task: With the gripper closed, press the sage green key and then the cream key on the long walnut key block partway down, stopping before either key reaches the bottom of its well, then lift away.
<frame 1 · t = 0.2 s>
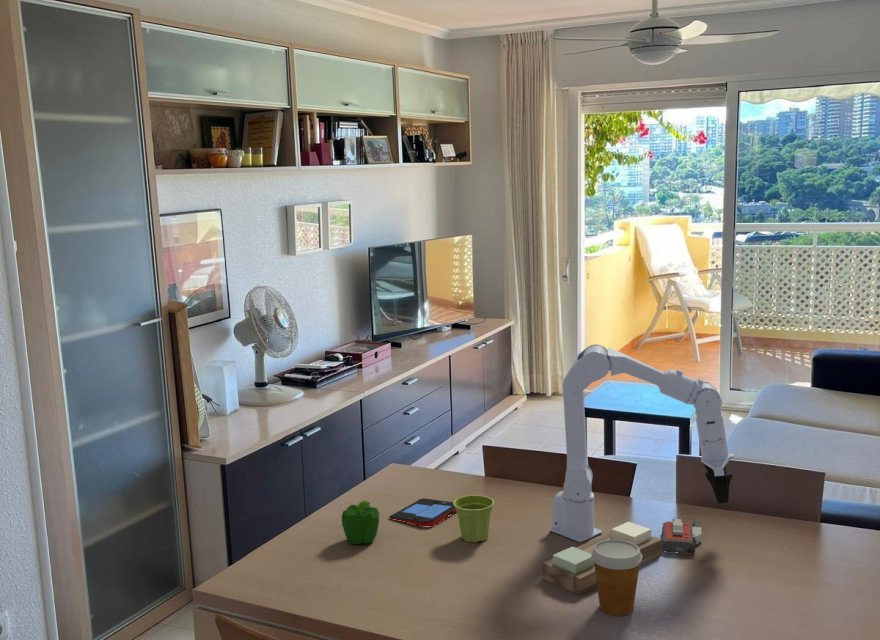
hand: (721, 496, 192), 10 cm above the table, tool pointing down, fingers open, 7 cm apart
bell pepper: (361, 541, 199), on the table
game console: (425, 517, 214), on the table
cream key: (631, 535, 188), point 4 cm above the table, slide at 0.0 cm
plant pot: (474, 538, 199), on the table
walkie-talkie: (681, 539, 196), on the table
sage key: (573, 562, 176), point 4 cm above the table, slide at 0.0 cm
key base: (603, 566, 182), on the table
disposable coffee cup: (616, 608, 164), on the table
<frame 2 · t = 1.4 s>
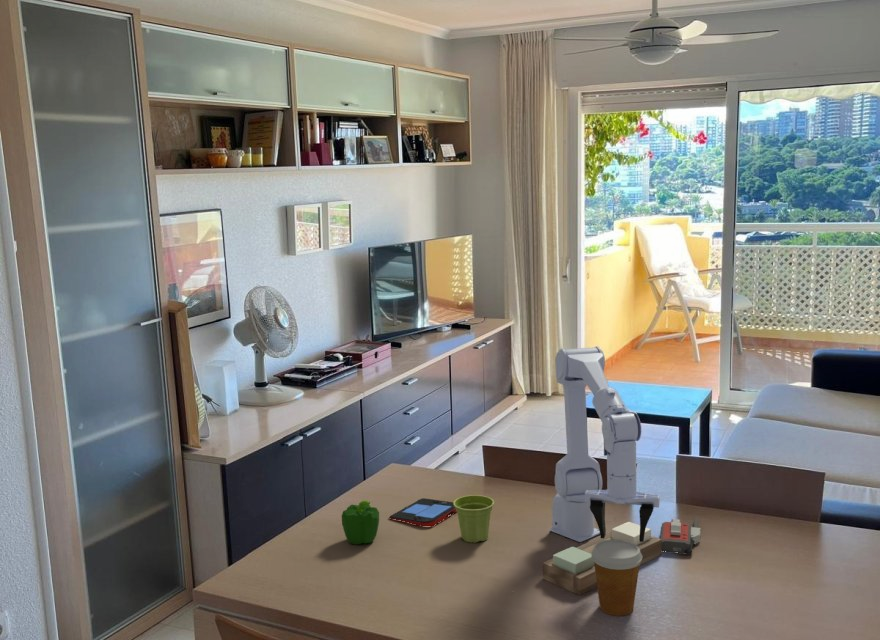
hand: (622, 538, 173), 10 cm above the table, tool pointing down, fingers open, 7 cm apart
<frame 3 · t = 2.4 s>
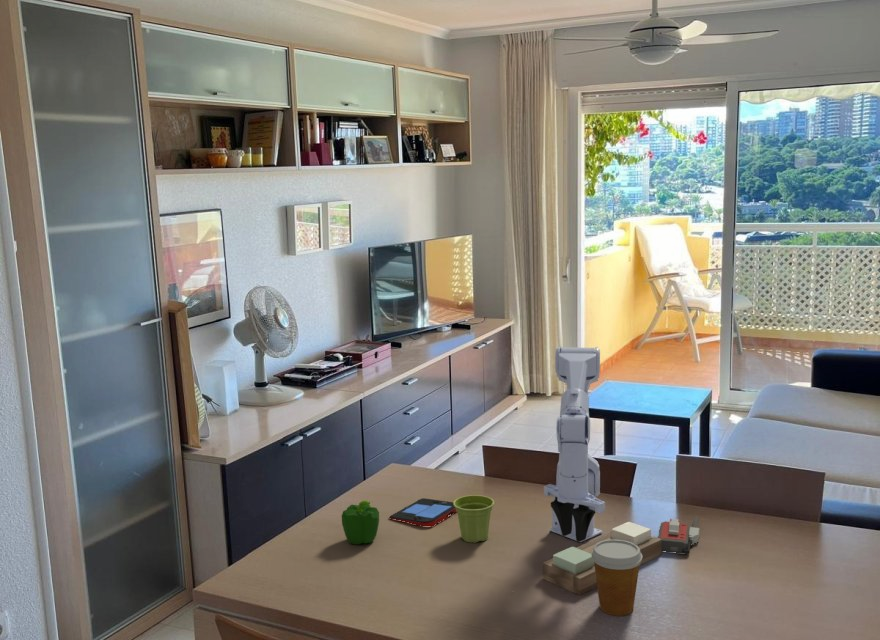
hand: (573, 537, 175), 9 cm above the table, tool pointing down, fingers open, 3 cm apart
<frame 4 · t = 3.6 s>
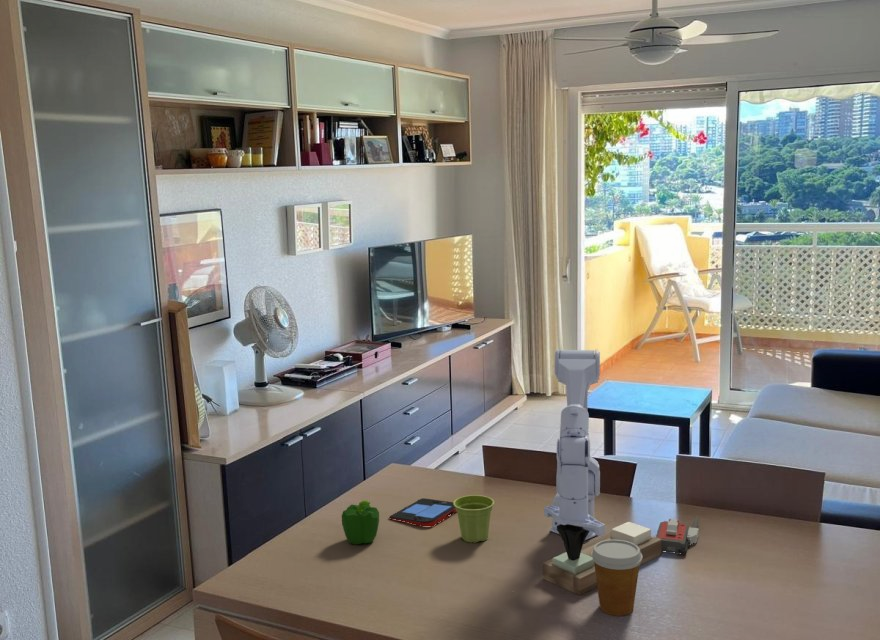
hand: (573, 558, 175), 5 cm above the table, tool pointing down, fingers closed, pressing on sage key
sage key: (573, 565, 176), point 3 cm above the table, slide at 0.6 cm, touching gripper
everything else where it was.
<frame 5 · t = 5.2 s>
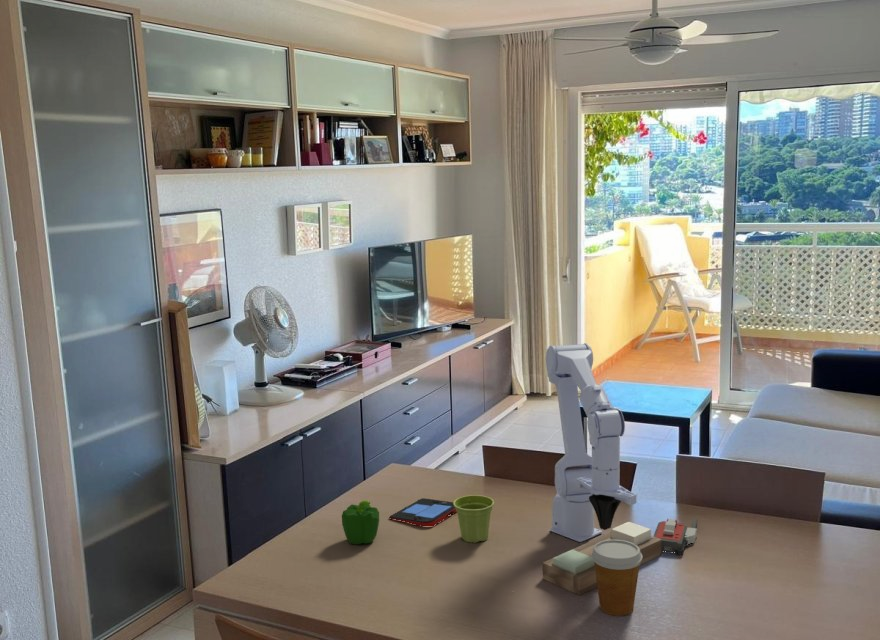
hand: (605, 527, 181), 8 cm above the table, tool pointing down, fingers closed
sage key: (573, 565, 176), point 3 cm above the table, slide at 0.6 cm
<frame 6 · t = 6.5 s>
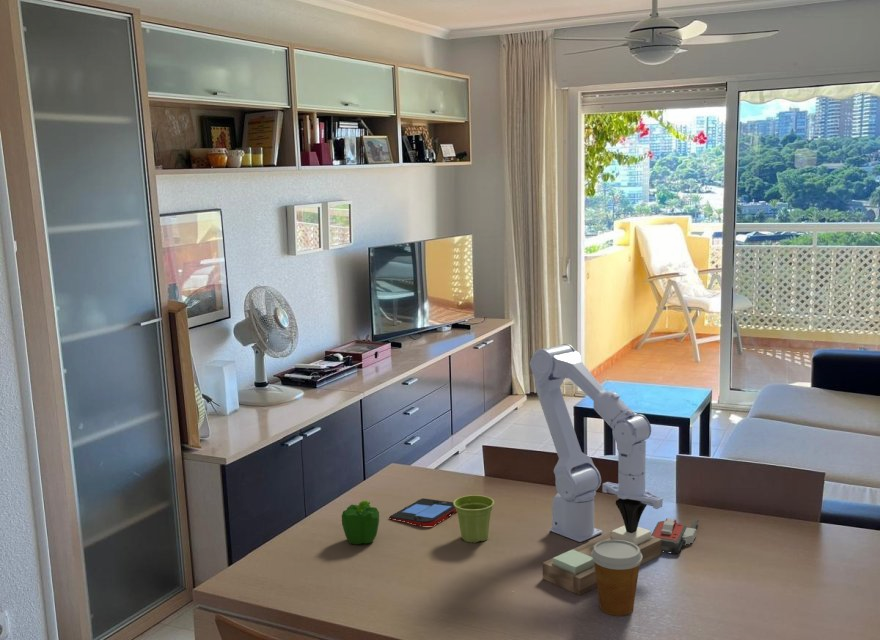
hand: (631, 531, 187), 5 cm above the table, tool pointing down, fingers closed, pressing on cream key
cream key: (631, 537, 188), point 4 cm above the table, slide at 0.4 cm, touching gripper
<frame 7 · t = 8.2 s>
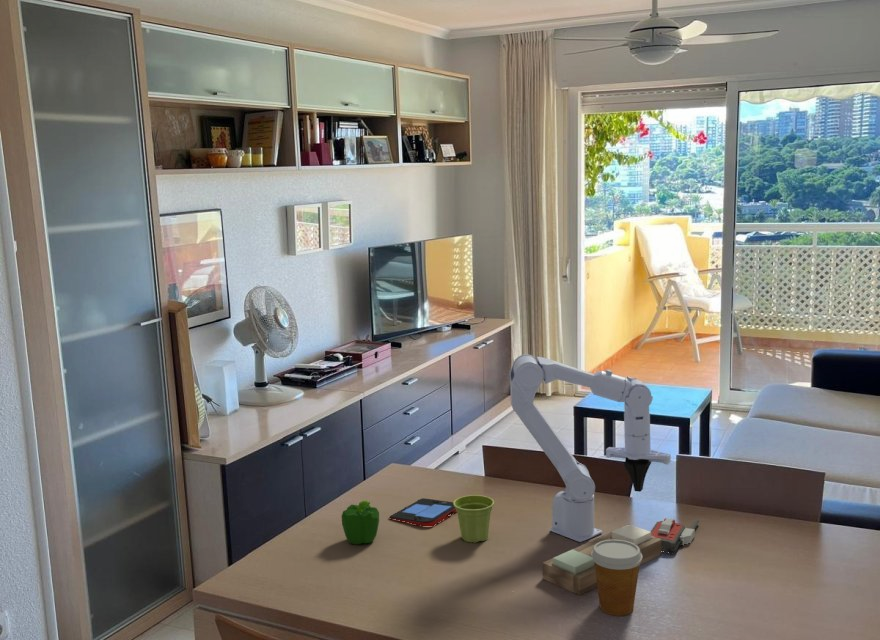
hand: (638, 489, 198), 10 cm above the table, tool pointing down, fingers closed
cream key: (631, 538, 188), point 3 cm above the table, slide at 0.6 cm
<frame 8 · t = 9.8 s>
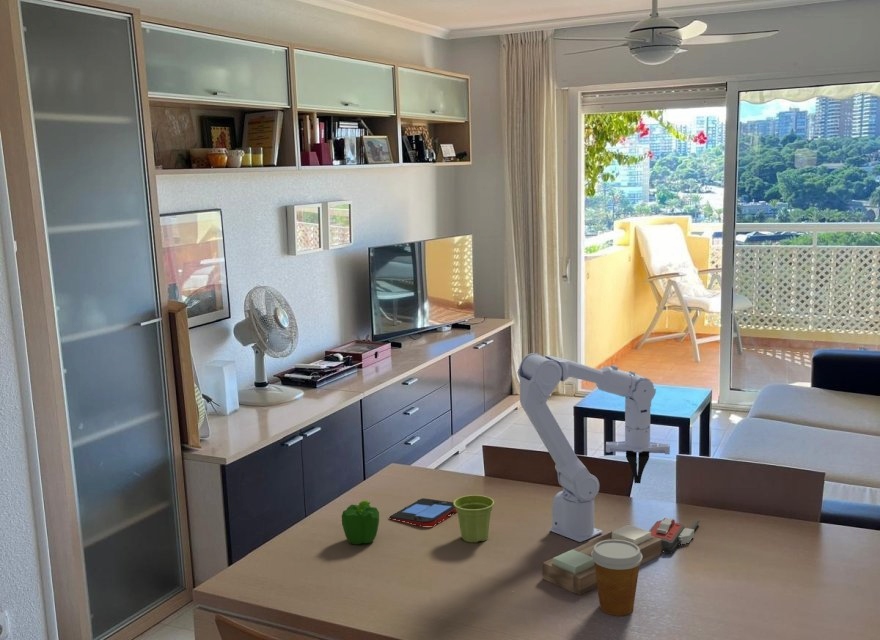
hand: (637, 481, 202), 10 cm above the table, tool pointing down, fingers closed
at the end: sage key slide at 0.6 cm; cream key slide at 0.6 cm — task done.
